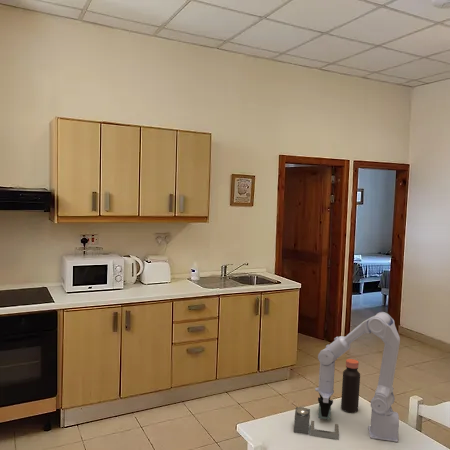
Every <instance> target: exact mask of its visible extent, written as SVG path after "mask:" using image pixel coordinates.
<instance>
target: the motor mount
mask: <svg viewBox="0 0 450 450" xmlns="http://www.w3.org/2000/svg"><path fill="white" fill-rule="evenodd" d="M310 419H311V409H310V408H307V407H305V406H304V407H303V406H302V407H301V406H300V407H298V406H296V407H295V411H294V419H293V421H294V422H293V424H294V425H293V433H297V434H304V435H309V434H310V435H309V436H311V437H315V438H316V437H318V438H323V439H324V438H325V439H329V440H336V441H337V440H338V441H339V440H340V427H339V424H338V423H334V431H330V430H329V431H328V430H323V429H317V428H315V420H311V421H310ZM309 430H310V431H309Z"/></svg>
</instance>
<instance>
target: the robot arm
mask: <svg viewBox="0 0 450 450" xmlns="http://www.w3.org/2000/svg"><path fill="white" fill-rule="evenodd" d="M364 334H373V335H374V336H376V337H377V338H379V339H380V340H381V341H382V342H383V344H384V346H383V352H382V358H381V363H380V364H381V365H380V370H379V376H378V381H377V387H376V389H375V391H374V396H373V397H372V399H370V408H371V414H370V417H371V418H370V425H368V426H367V429H368V433H369V438H370V439H375V440H381V441H389V442H395V443H396V442H397V443H398V442H399V427H400V416H399V413H398V412H397V411H393V408H392V406H393V404H394V402H395V401H396V400H395V399H396V398H395V395H394V387H393V386H394V385H393V384H394V378H395V375H396V369H397V364H398V363H397V362H398V356H399V349H400V343H401V337H400V334H399V331H398V330H397V327H396V324H395V320H394V318H393V317H392V316H391V315H390V314H389V313H387V312H384V311H380V312H377V313H376V314H375V315H372V316H370V317H369V318H367V319H365V320H364V321H363V322H360V323H359V325H357V326H356V327H355V328H354V329H352V331H350V332H349V333H348V334H346V336H343V335H340V336H336V337H334V338H333V341H332V342H331V343H330V344H329V343H328V344H326V345H325V348H324V349H321V350H320V351H319V352H318V354H317V359H318V362H319V369H318V371H319V373H318V387H315V389H314V391H315V392H318V394H319V397H317V401H318V402H317V403H318V405H319V404H320V407H321V415H322V417H327V416H328V413H329V409H330V407H331V408H332V405H333V404H334V400H332V399H331V397H332V396H333V395H334V393H335V390H334V389H335V388H334V386H335V365H336V360H338V359H339V358H340V357H341V356H343V355H344V354H345V353H347V352H348V351H349V350H350V349H351V344H353V342H354V341H355V340H357V339H358V338H360V337H361V336H363V335H364Z"/></svg>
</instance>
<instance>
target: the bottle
mask: <svg viewBox="0 0 450 450" xmlns="http://www.w3.org/2000/svg"><path fill="white" fill-rule="evenodd" d="M359 363H360V362H359V361H358V360H356V359H354V358H347V359H346V360H345V369H344V370H343V371H342V385H341V386H342V387H341V399H340V400H341V401H340V403H341V404H340V409H341V410H343V411H344V412H345V413H351V414H353V413H357V412H358V411H359V403H360V401H359V399H360V386H361V373H360V372H359V371H358V369H359Z"/></svg>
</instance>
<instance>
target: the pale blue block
mask: <svg viewBox="0 0 450 450" xmlns="http://www.w3.org/2000/svg"><path fill="white" fill-rule="evenodd" d="M331 413H332V406H331V407H330V409H329V413H328V416H327V417H322V415H321V407H320V404H319V403H318V416H317V417H318V419H320V420H321V419H322V420H329V421H331V416H332V415H331Z"/></svg>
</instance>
